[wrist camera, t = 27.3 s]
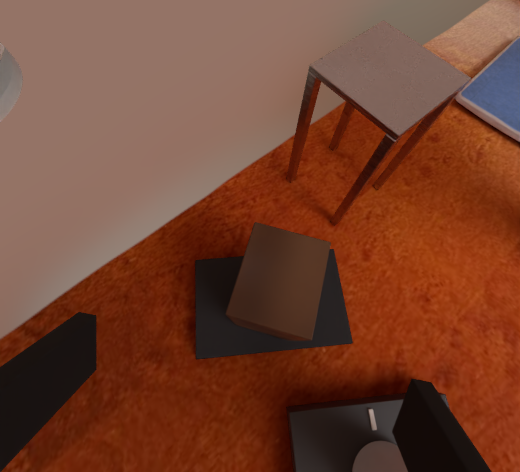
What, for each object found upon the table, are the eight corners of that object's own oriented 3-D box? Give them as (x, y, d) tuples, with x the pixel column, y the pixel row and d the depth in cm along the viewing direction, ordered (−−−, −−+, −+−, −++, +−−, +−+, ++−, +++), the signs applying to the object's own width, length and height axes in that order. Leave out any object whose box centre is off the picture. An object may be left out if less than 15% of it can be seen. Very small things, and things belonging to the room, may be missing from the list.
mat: (198, 358, 24) (195, 359, 23) (197, 263, 28) (195, 259, 26) (348, 343, 25) (353, 343, 24) (330, 252, 28) (333, 248, 27)
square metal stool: (334, 226, 30) (399, 135, 17) (285, 178, 32) (309, 64, 19) (381, 186, 32) (471, 78, 19) (332, 144, 34) (383, 20, 21)
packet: (303, 277, 26) (331, 242, 17) (288, 341, 24) (312, 340, 15) (253, 263, 26) (254, 221, 17) (235, 324, 24) (225, 315, 15)
